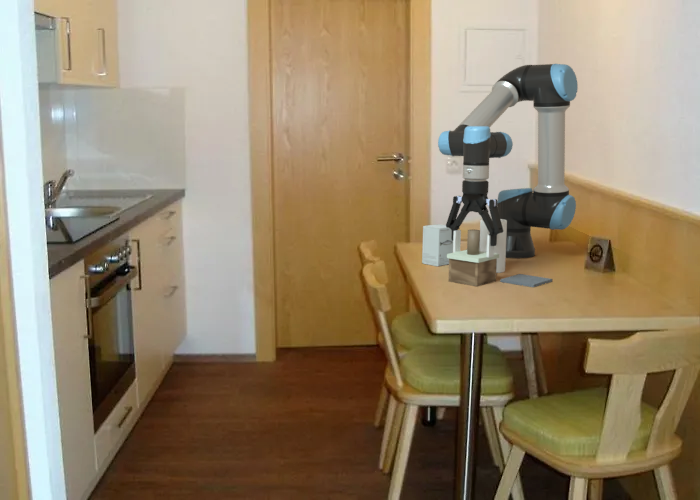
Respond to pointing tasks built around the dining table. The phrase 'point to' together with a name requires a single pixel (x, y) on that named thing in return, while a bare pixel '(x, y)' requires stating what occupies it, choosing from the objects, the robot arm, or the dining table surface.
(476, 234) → the lid
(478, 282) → the box
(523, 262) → the dining table surface
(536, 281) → the plate
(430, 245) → the supplement box
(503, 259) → the cup
